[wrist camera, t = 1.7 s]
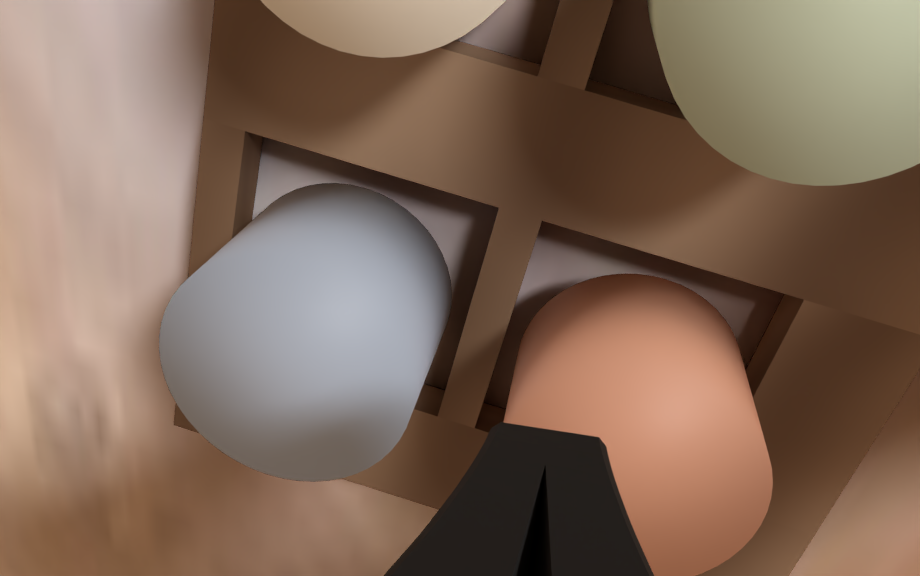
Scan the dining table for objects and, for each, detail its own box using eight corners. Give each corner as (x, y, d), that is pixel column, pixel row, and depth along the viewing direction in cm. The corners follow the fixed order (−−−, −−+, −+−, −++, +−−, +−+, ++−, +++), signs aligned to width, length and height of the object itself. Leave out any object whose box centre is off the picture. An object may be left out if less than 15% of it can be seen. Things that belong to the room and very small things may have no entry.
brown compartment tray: (1346, -386, 12) (1414, -412, 11) (757, 579, 23) (764, 613, 22) (309, -653, 13) (282, -702, 12) (193, 401, 23) (173, 424, 22)
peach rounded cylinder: (780, 314, 18) (822, 419, 14) (690, 487, 20) (708, 615, 16) (553, 245, 18) (538, 331, 14) (492, 425, 20) (466, 537, 17)
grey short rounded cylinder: (476, 221, 18) (441, 302, 14) (424, 404, 20) (384, 512, 17) (256, 155, 18) (168, 218, 14) (231, 343, 20) (151, 437, 17)
